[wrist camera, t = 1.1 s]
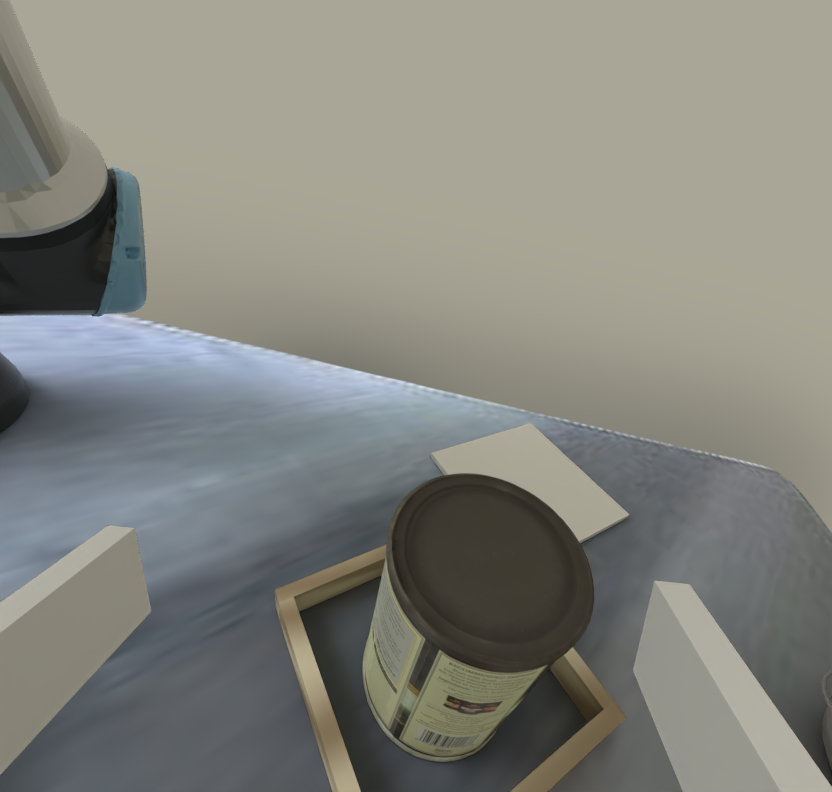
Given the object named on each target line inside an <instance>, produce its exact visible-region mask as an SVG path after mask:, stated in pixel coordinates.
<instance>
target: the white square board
mask: <svg viewBox="0 0 832 792" xmlns="http://www.w3.org/2000/svg"><path fill="white" fill-rule="evenodd" d="M430 457H431V459H432V460H433V461H434V462H435V464H436V465H437V466H438V468H439V469H440V470H441V472H442V473H443V474H444V475H450V474H458V473H472V474H482V475H487V476H491V477H495V478H499V479H502V480H505V481H508V482H510V483H513V484H515V485H517V486H519V487H521V488H523V489H525V490H527V491H528V492H530V493H532V494H533V495H535V496H536V497H538V498H539V499H541V500H542V501H543V502H544V503H546V504H547V505H548V506H550V507H551V508H552V509H553V510H554V511H555V512H556V513H557V514H558V515H559V516H560V517H561V518H562V519H563V520H564V522H565V523H566V524H567V525H568V527H569V528H570V529H571V530H572V532H573V533H574V535H575V536H576V538H577V539H578V541H579V543H582V542H584V541H585V540H587V539H589V538H591V537H593V536H595V535H597V534H598V533H600V532H602V531H604V530H606V529H608V528H609V527H611V526H613V525H615V524H617V523H619V522H620V521H622V520H624V519H626V518H627V517H628V516H629V514H628V513H627V512H626V511H625V510H624V509H623V508H622V507H621V506H620V505H618V504H617V503H616V502H615V501H614V500H613V499H612V498H611V497H610V496H609V495H608V494H607V493H605V492H604V491H603V490H602V489H601V488H600V487H599V486H598V485H597V484H596V483H595V482H594V481H593V480H591V479H590V478H589V477H588V476H587V475H586V474H585V473H584V472H583V471H582V470H581V469H580V468H579V467H577V466H576V465H575V464H574V463H573V462H572V461H571V460H570V459H569V458H568V457H567V456H566V455H564V454H563V453H562V452H561V451H560V450H559V449H558V448H557V447H556V446H555V445H554V444H553V443H552V442H550V441H549V440H548V439H547V438H546V437H545V436H544V435H543V434H542V433H541V432H540V431H539V430H538V429H536V428H535V427H534V426H533V425H532V424H531V423H529V424H526V425H523V426H519V427H516V428H513V429H509V430H506V431H503V432H499V433H496V434H493V435H489V436H486V437H483V438H479V439H476V440H473V441H469V442H466V443H463V444H459V445H456V446H453V447H449V448H446V449H443V450H439V451H436V452H433V453H431V456H430Z"/></svg>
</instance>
